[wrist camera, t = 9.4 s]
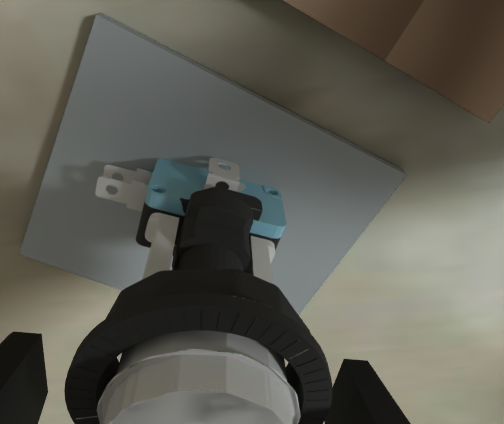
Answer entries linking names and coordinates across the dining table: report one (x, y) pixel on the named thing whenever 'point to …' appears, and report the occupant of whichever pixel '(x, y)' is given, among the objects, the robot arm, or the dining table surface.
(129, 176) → the push button
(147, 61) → the rubber mat
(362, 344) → the dining table surface
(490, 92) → the brown flat rectangular frame
